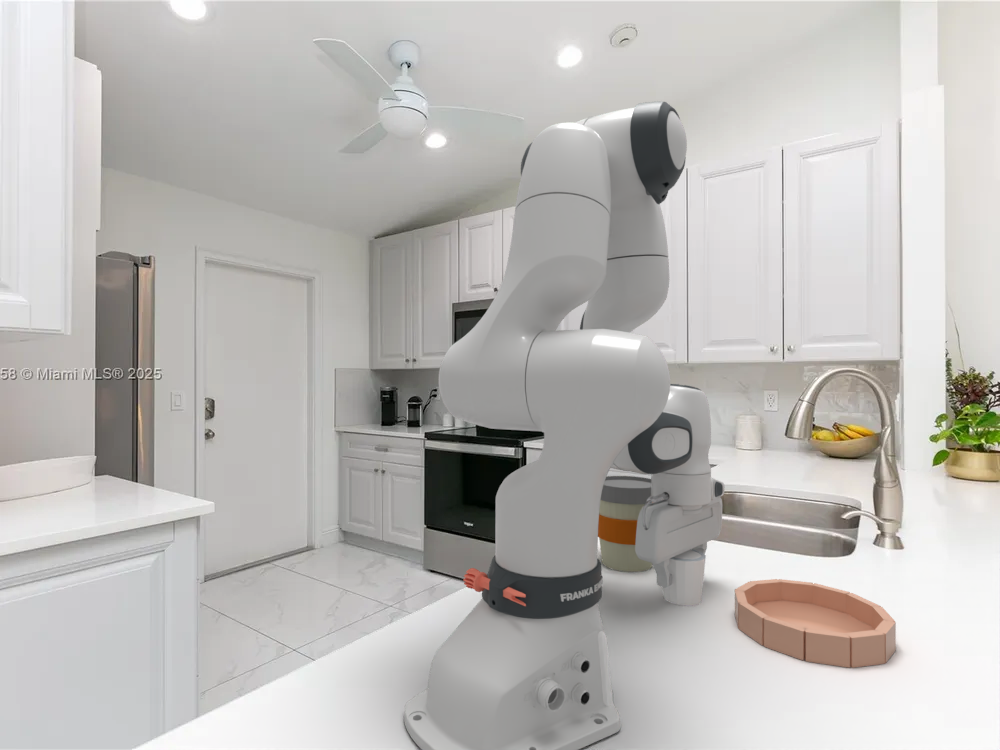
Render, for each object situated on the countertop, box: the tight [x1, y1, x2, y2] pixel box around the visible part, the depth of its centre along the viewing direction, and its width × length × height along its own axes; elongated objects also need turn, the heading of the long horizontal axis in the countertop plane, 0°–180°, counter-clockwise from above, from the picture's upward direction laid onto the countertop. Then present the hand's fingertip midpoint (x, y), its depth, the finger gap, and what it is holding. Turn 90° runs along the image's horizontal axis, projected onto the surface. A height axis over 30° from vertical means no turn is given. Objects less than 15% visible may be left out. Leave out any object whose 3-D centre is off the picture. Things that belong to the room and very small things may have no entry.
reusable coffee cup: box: [598, 475, 653, 573], centre depth 100 cm, size 13×13×15 cm
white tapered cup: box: [662, 549, 707, 607], centre depth 84 cm, size 7×7×7 cm
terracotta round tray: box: [734, 578, 897, 669], centre depth 73 cm, size 18×18×4 cm
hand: (680, 577), depth 84 cm, fingers open, 8 cm apart
